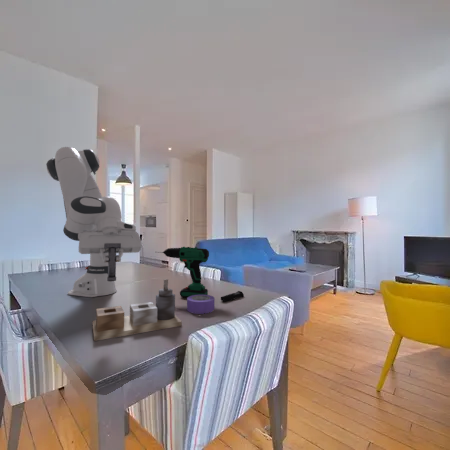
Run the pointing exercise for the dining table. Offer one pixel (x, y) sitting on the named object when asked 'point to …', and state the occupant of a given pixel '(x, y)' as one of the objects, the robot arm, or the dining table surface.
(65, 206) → the robot arm
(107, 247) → the chuck key
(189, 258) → the power drill
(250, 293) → the dining table surface
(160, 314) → the stand
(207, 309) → the tape roll
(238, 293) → the electric trimmer
